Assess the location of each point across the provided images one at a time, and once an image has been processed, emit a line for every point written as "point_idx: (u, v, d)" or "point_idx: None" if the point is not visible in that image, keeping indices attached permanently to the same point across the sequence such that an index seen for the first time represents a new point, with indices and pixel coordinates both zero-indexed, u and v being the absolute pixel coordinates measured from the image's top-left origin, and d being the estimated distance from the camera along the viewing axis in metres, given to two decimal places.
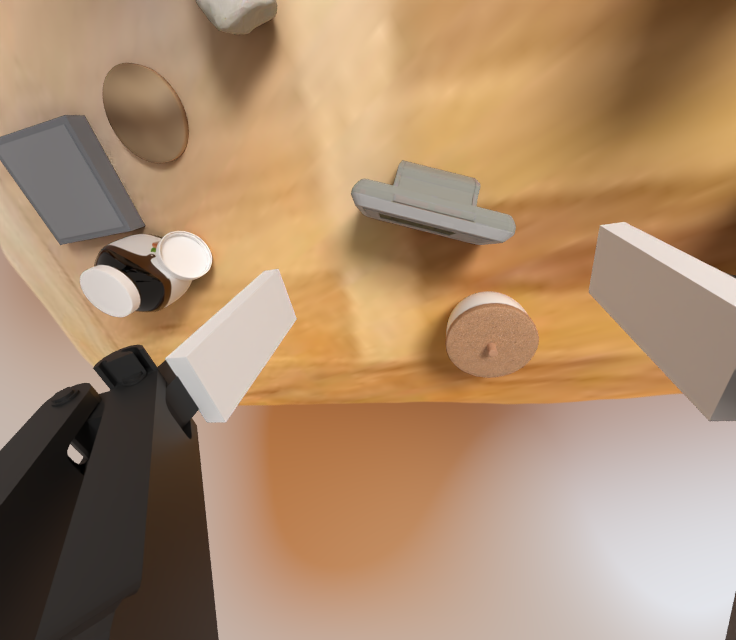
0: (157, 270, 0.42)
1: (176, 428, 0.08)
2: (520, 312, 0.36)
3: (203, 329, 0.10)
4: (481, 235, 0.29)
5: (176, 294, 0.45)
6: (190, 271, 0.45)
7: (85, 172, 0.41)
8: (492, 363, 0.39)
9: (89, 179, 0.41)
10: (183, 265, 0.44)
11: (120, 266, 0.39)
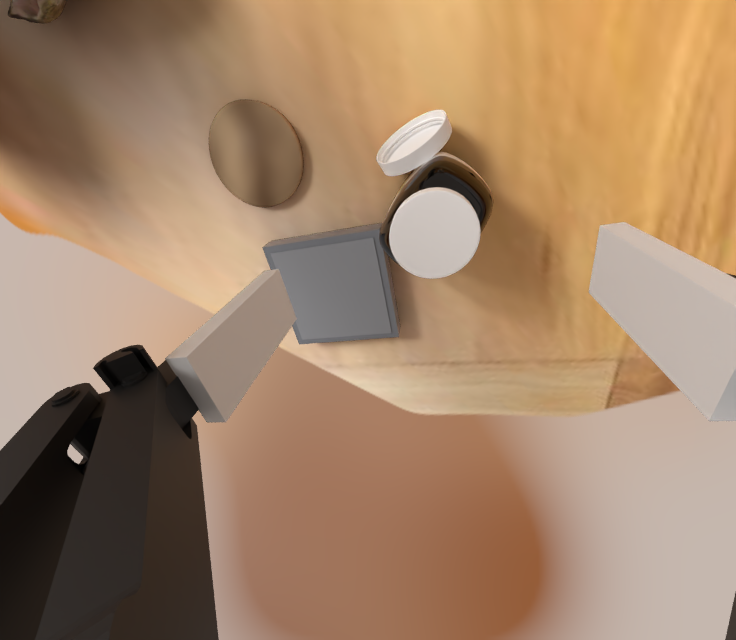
0: (419, 170, 0.26)
1: (176, 428, 0.08)
2: None
3: (203, 329, 0.10)
4: None
5: (471, 167, 0.26)
6: None
7: (313, 255, 0.36)
8: None
9: (320, 254, 0.36)
10: None
11: (397, 209, 0.25)
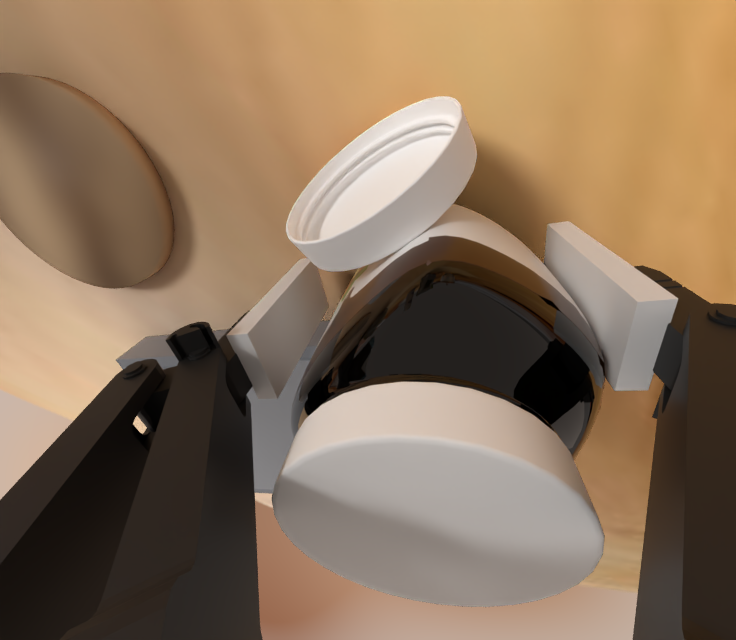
0: (381, 275, 0.08)
1: (233, 405, 0.09)
2: None
3: (255, 310, 0.11)
4: None
5: (534, 260, 0.09)
6: None
7: None
8: None
9: None
10: None
11: (313, 401, 0.08)
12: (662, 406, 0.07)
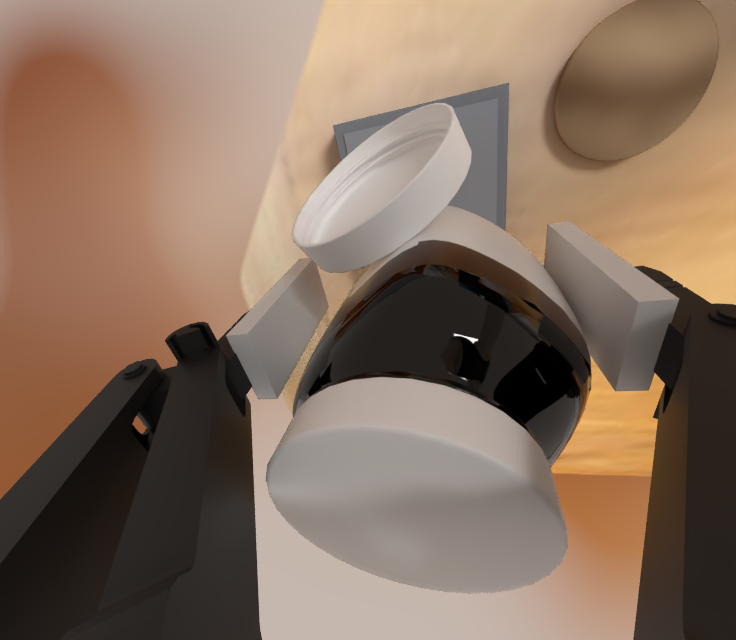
0: (373, 276, 0.09)
1: (232, 406, 0.09)
2: None
3: (255, 310, 0.11)
4: None
5: (526, 263, 0.09)
6: None
7: (484, 174, 0.27)
8: None
9: (484, 184, 0.27)
10: None
11: (308, 393, 0.09)
12: (663, 406, 0.07)
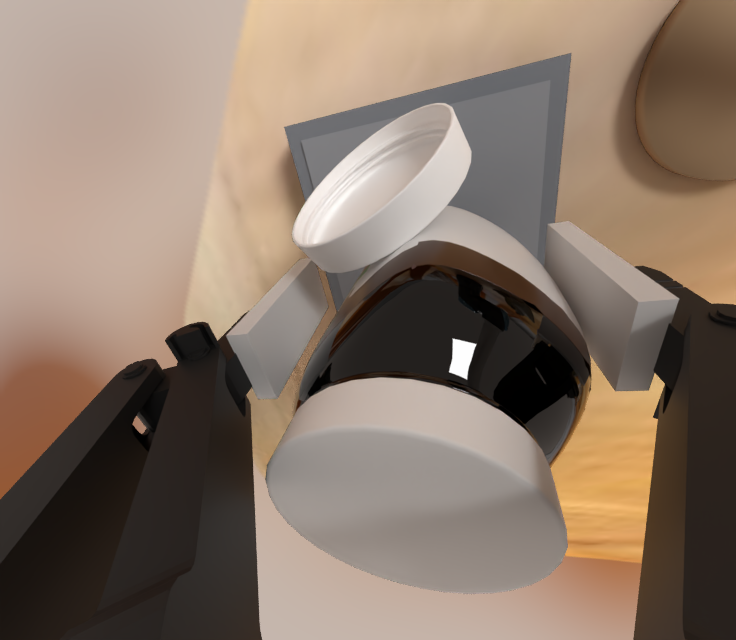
0: (373, 277, 0.09)
1: (232, 405, 0.09)
2: None
3: (255, 310, 0.11)
4: None
5: (525, 263, 0.09)
6: None
7: (521, 202, 0.17)
8: None
9: (521, 217, 0.17)
10: None
11: (308, 394, 0.09)
12: (663, 406, 0.07)
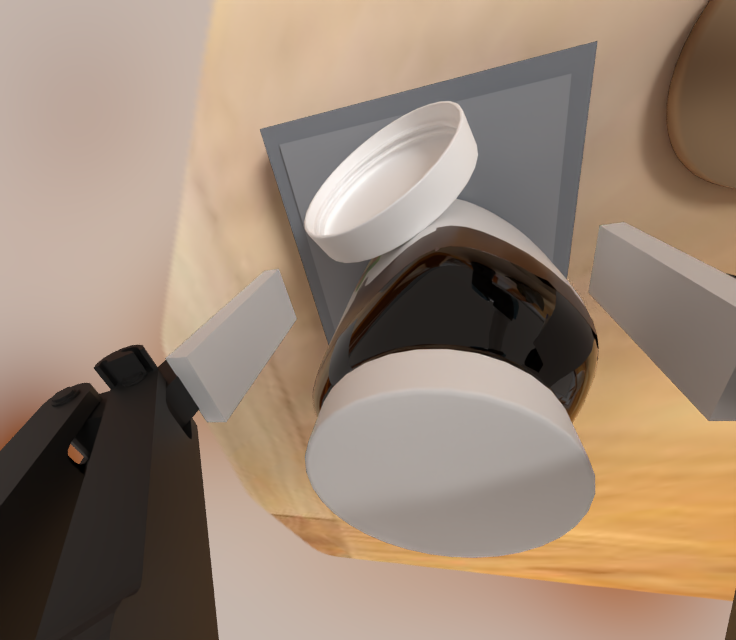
0: (394, 262, 0.10)
1: (176, 428, 0.08)
2: None
3: (203, 329, 0.10)
4: None
5: (532, 247, 0.10)
6: None
7: (534, 215, 0.15)
8: None
9: (533, 233, 0.15)
10: None
11: (337, 375, 0.09)
12: None
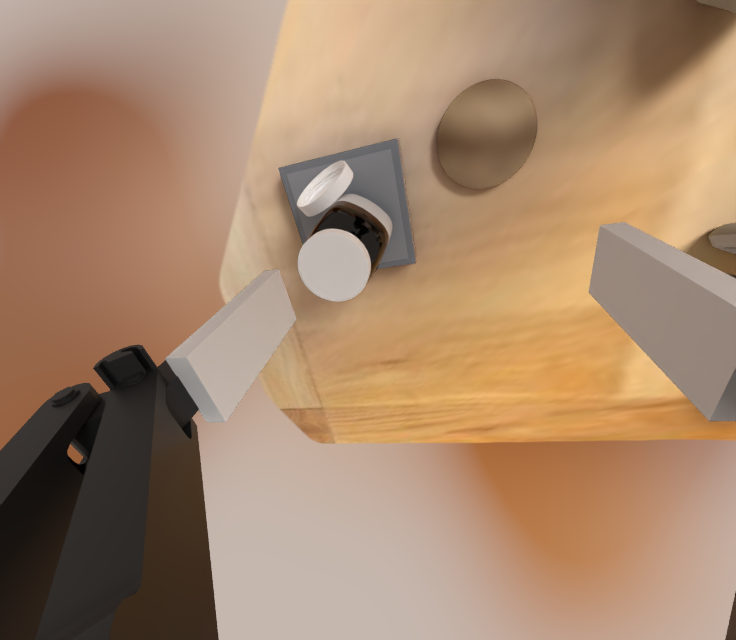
0: (324, 212, 0.31)
1: (176, 428, 0.08)
2: None
3: (203, 329, 0.10)
4: None
5: (369, 207, 0.31)
6: None
7: (390, 200, 0.36)
8: None
9: (392, 208, 0.37)
10: None
11: None
12: None
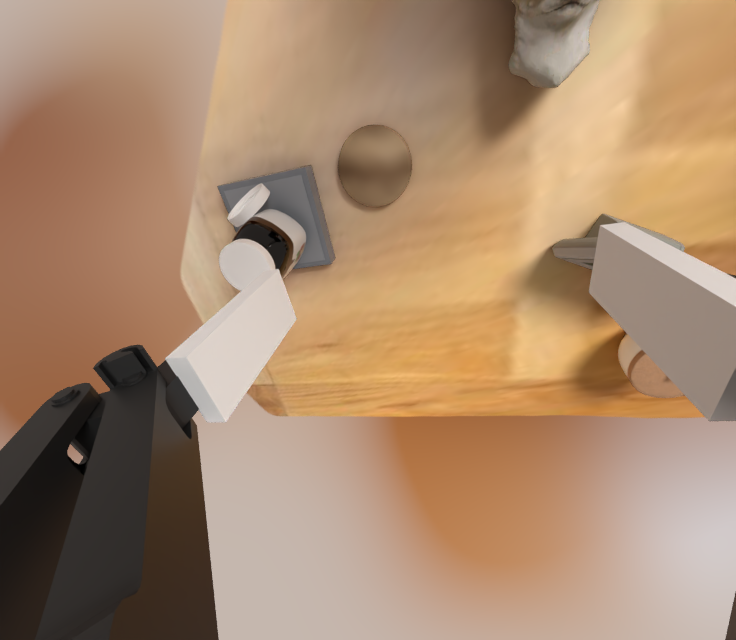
0: None
1: (176, 428, 0.08)
2: None
3: (203, 329, 0.10)
4: None
5: (279, 221, 0.41)
6: None
7: (305, 214, 0.46)
8: (673, 386, 0.44)
9: (307, 220, 0.46)
10: None
11: None
12: None
